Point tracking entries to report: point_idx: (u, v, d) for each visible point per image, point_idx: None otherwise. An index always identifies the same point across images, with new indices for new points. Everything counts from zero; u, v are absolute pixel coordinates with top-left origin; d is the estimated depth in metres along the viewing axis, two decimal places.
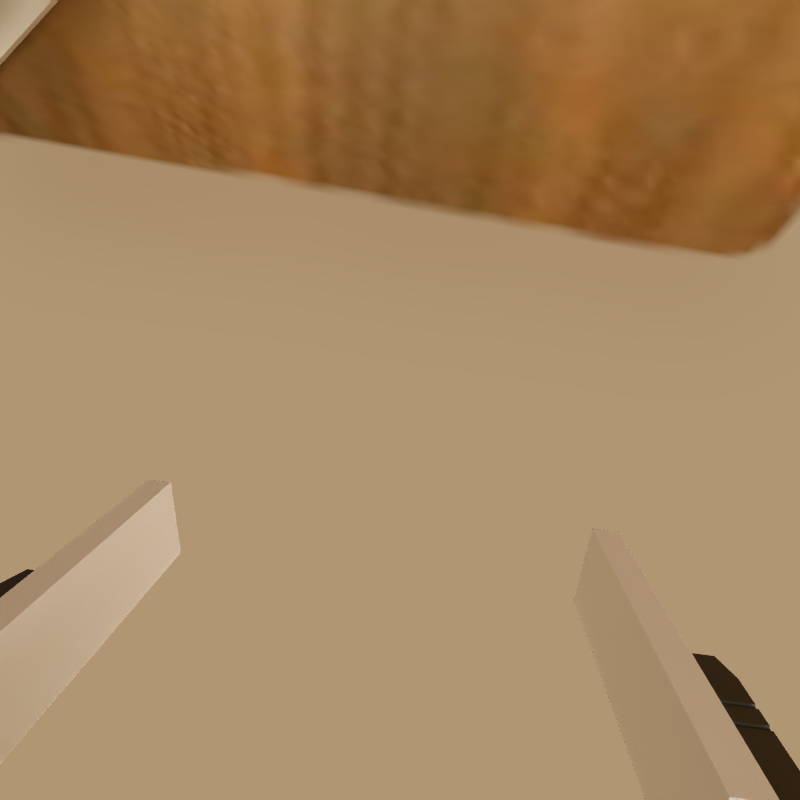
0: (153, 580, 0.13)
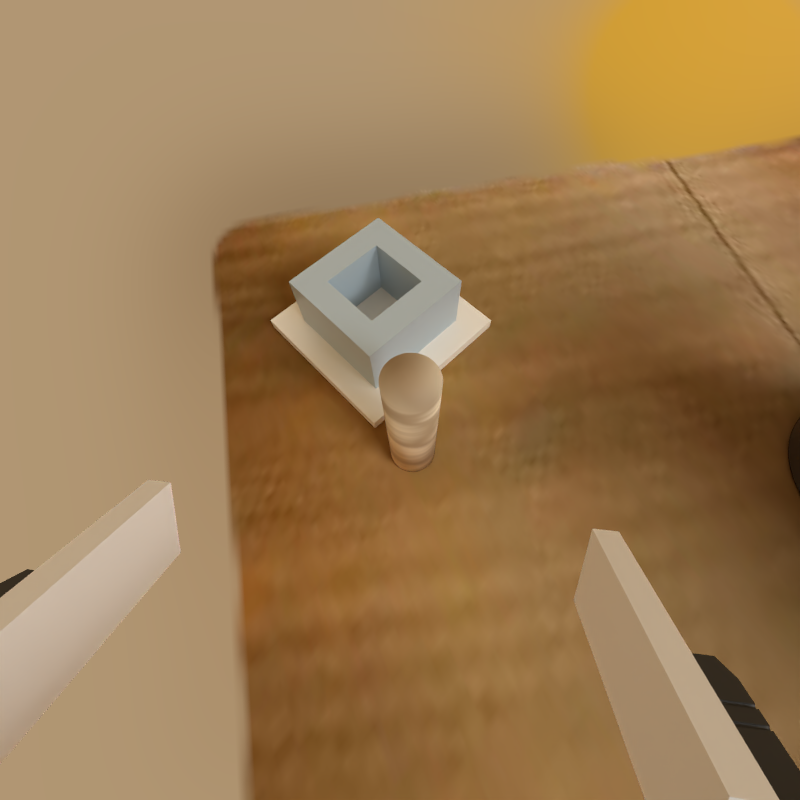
0: (153, 580, 0.13)
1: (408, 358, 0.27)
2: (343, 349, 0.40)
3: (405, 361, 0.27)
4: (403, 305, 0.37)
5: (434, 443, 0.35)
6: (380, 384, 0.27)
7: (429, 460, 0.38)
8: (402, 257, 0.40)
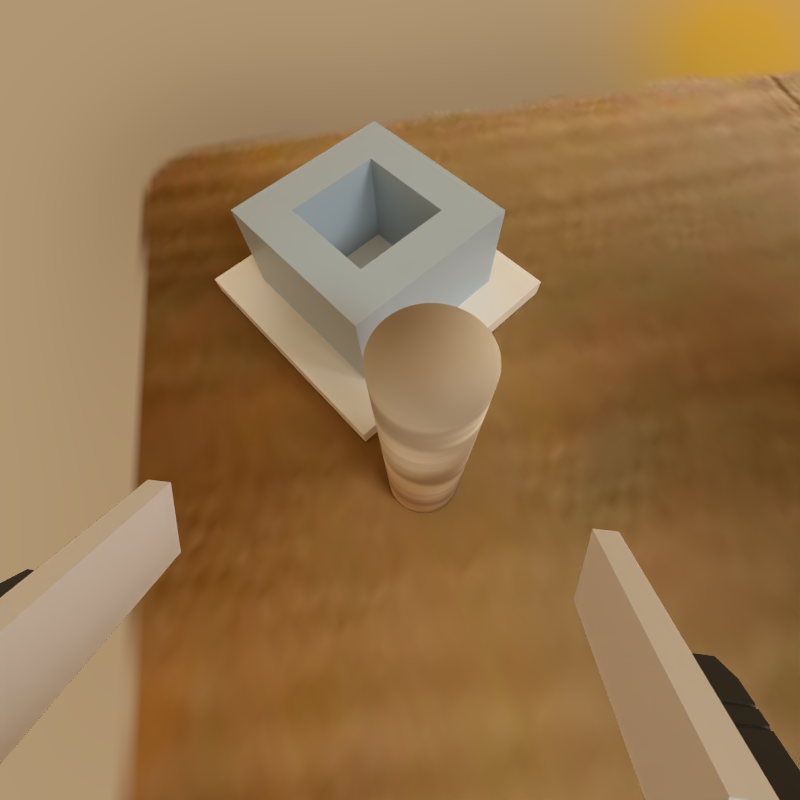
0: (153, 580, 0.13)
1: (426, 314, 0.13)
2: (317, 319, 0.26)
3: (420, 320, 0.13)
4: (412, 246, 0.23)
5: None
6: (366, 367, 0.12)
7: (451, 496, 0.23)
8: (410, 176, 0.25)
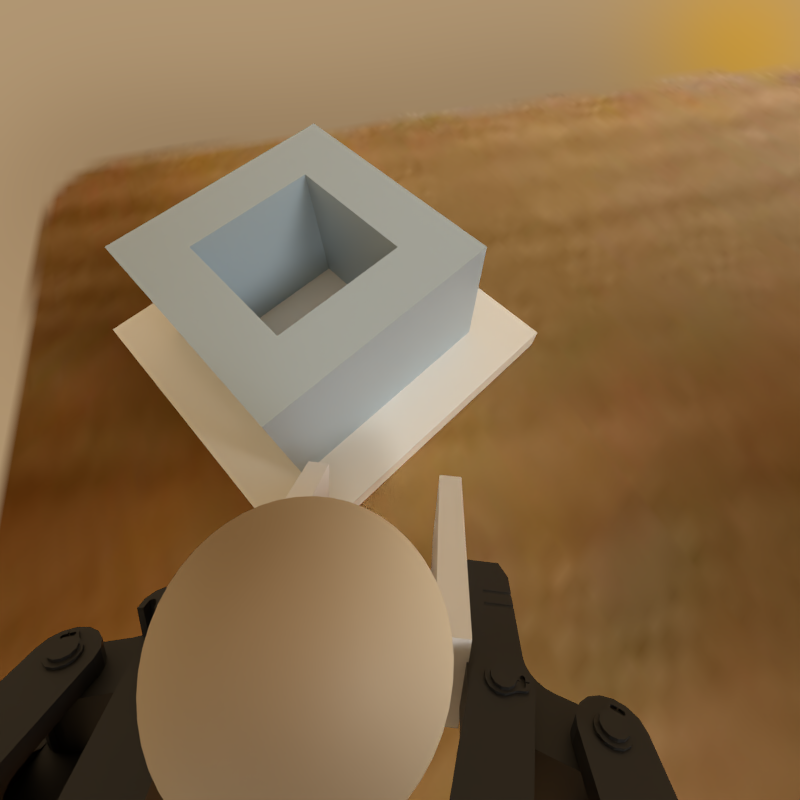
0: None
1: (298, 526, 0.06)
2: None
3: (283, 542, 0.06)
4: (354, 300, 0.16)
5: None
6: (146, 675, 0.05)
7: None
8: (357, 198, 0.18)
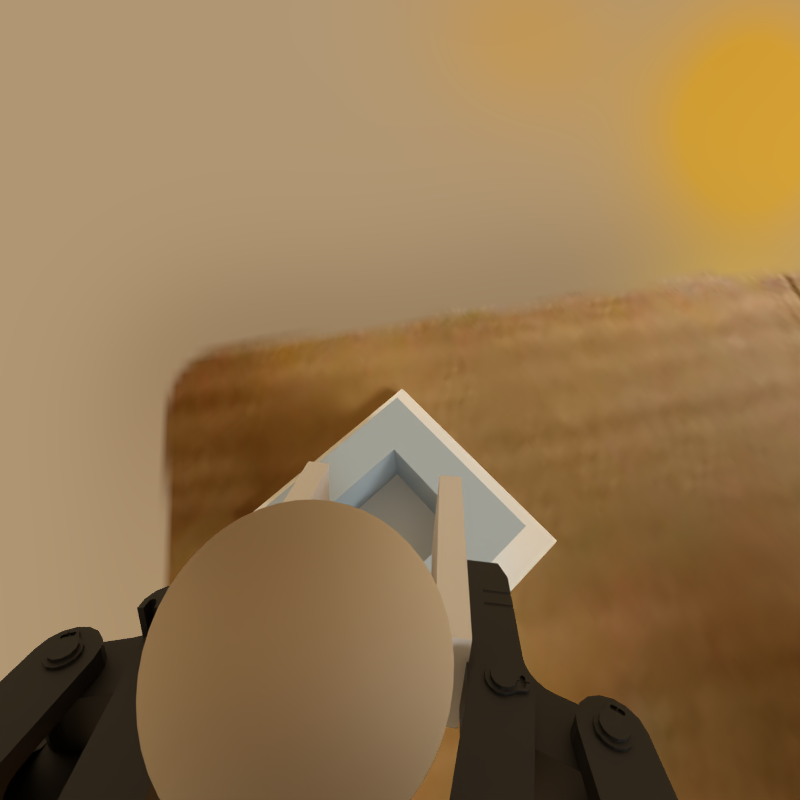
0: None
1: (298, 529, 0.06)
2: None
3: (283, 545, 0.06)
4: None
5: None
6: (146, 678, 0.05)
7: None
8: (433, 475, 0.26)
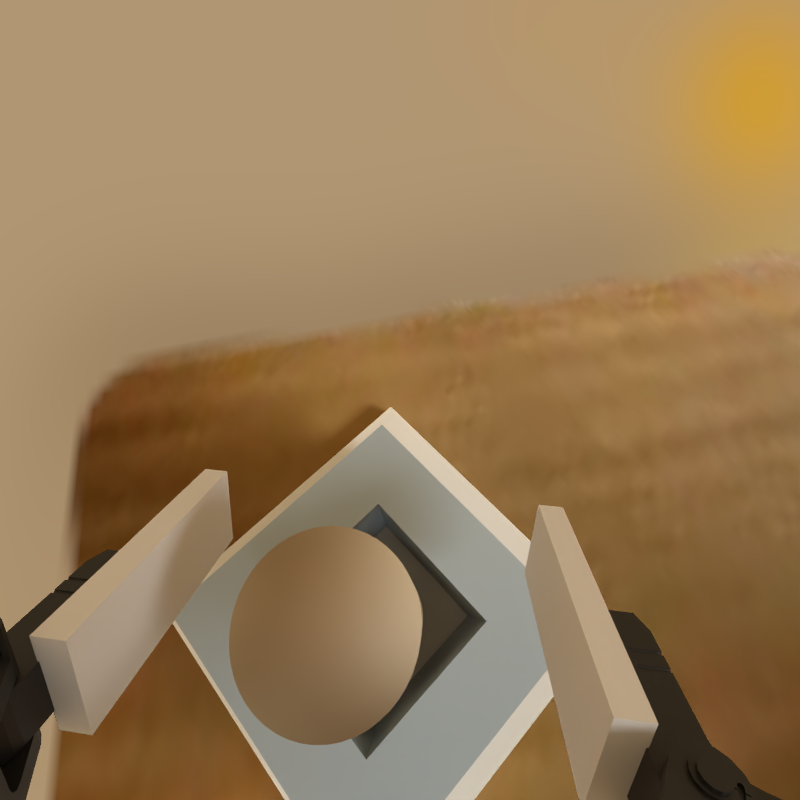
0: (211, 564, 0.14)
1: (324, 545, 0.10)
2: None
3: (315, 555, 0.10)
4: (445, 705, 0.15)
5: None
6: (234, 637, 0.09)
7: None
8: (437, 544, 0.17)
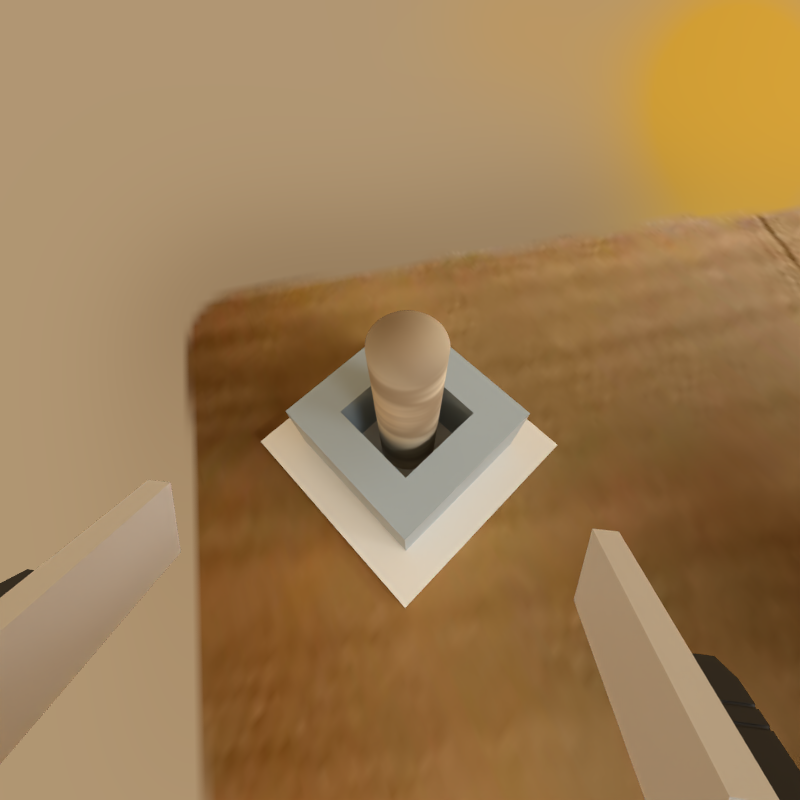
0: (153, 580, 0.13)
1: (404, 317, 0.21)
2: (361, 499, 0.29)
3: (400, 321, 0.21)
4: (450, 452, 0.26)
5: (435, 434, 0.28)
6: (367, 350, 0.20)
7: (428, 455, 0.31)
8: None
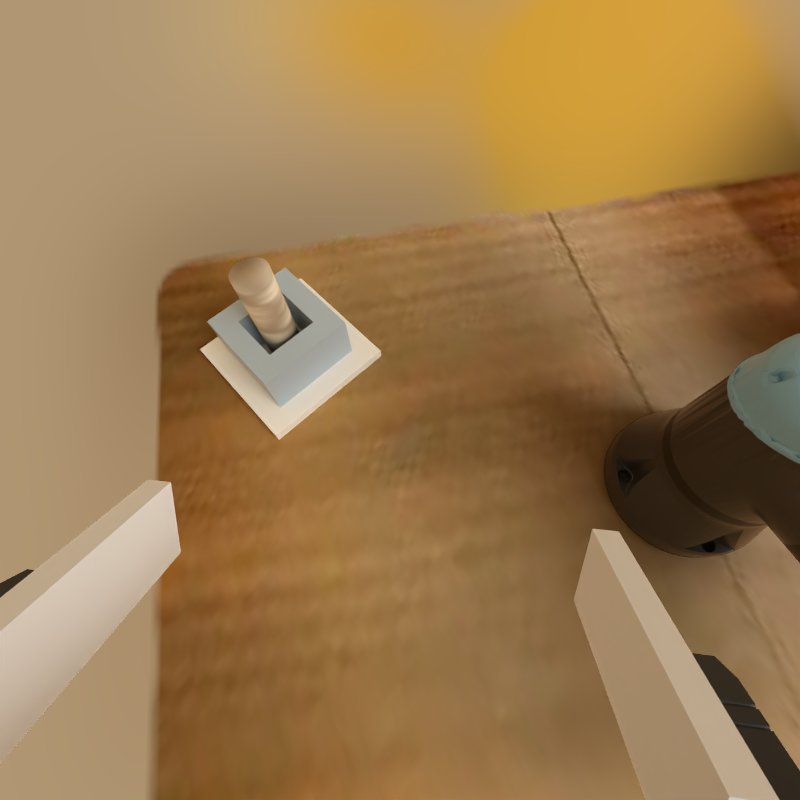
0: (153, 580, 0.13)
1: (250, 260, 0.41)
2: (253, 375, 0.50)
3: (248, 262, 0.41)
4: (296, 342, 0.47)
5: None
6: (229, 275, 0.41)
7: None
8: (300, 302, 0.49)
